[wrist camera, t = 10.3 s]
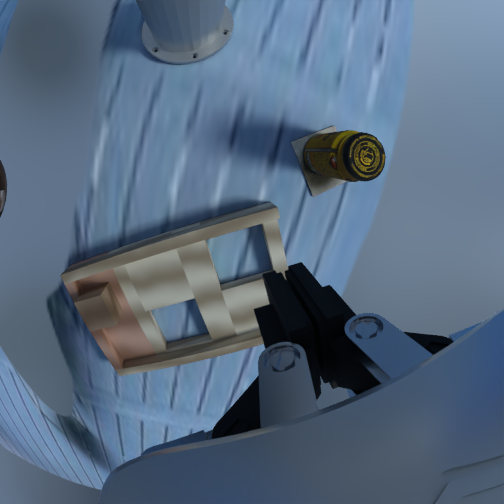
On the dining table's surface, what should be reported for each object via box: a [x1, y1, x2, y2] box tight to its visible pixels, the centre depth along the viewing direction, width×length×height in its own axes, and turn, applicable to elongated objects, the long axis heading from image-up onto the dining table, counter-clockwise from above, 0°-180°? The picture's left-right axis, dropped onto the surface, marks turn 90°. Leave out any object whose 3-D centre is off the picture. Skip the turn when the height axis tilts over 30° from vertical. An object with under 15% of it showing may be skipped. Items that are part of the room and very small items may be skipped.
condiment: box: [291, 126, 385, 197], centre depth 31 cm, size 7×8×12 cm
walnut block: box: [74, 282, 123, 331], centre depth 34 cm, size 5×5×4 cm
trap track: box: [60, 202, 288, 376], centre depth 38 cm, size 20×32×4 cm, turn 104°
